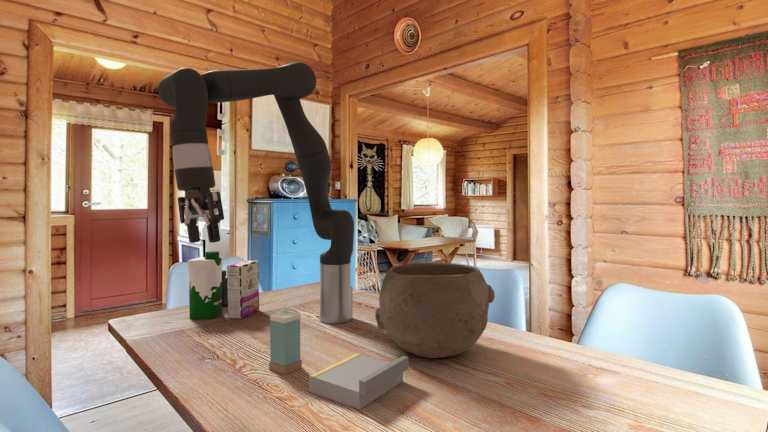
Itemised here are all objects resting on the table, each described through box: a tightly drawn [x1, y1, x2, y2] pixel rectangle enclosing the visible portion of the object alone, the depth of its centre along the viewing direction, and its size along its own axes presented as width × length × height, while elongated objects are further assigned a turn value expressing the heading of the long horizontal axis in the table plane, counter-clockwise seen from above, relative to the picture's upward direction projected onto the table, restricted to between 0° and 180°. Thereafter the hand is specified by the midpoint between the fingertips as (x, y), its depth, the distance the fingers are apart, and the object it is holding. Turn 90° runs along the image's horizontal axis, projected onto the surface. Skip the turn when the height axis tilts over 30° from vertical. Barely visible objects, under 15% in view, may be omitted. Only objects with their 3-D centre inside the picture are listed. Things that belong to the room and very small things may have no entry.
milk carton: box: [187, 250, 224, 320], centre depth 130 cm, size 9×9×20 cm
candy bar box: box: [226, 259, 260, 320], centre depth 132 cm, size 11×5×16 cm, turn 168°
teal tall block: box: [268, 310, 303, 375], centre depth 89 cm, size 5×5×12 cm
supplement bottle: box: [222, 269, 228, 308], centre depth 143 cm, size 7×7×12 cm
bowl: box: [374, 262, 496, 359], centre depth 99 cm, size 27×29×20 cm
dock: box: [308, 353, 409, 410], centre depth 80 cm, size 14×13×5 cm
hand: (204, 242), depth 90 cm, fingers open, 8 cm apart
